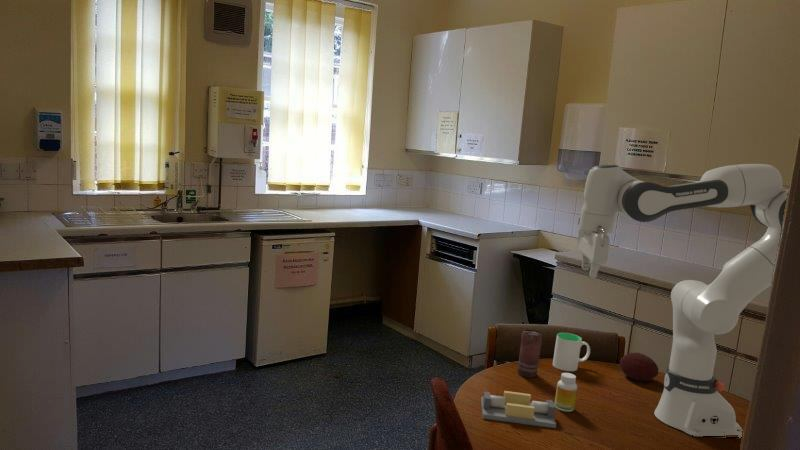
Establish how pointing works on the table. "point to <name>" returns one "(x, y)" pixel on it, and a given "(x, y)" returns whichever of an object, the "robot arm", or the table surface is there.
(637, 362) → the potato
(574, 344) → the mug
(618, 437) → the table surface
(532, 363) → the can
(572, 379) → the supplement bottle
